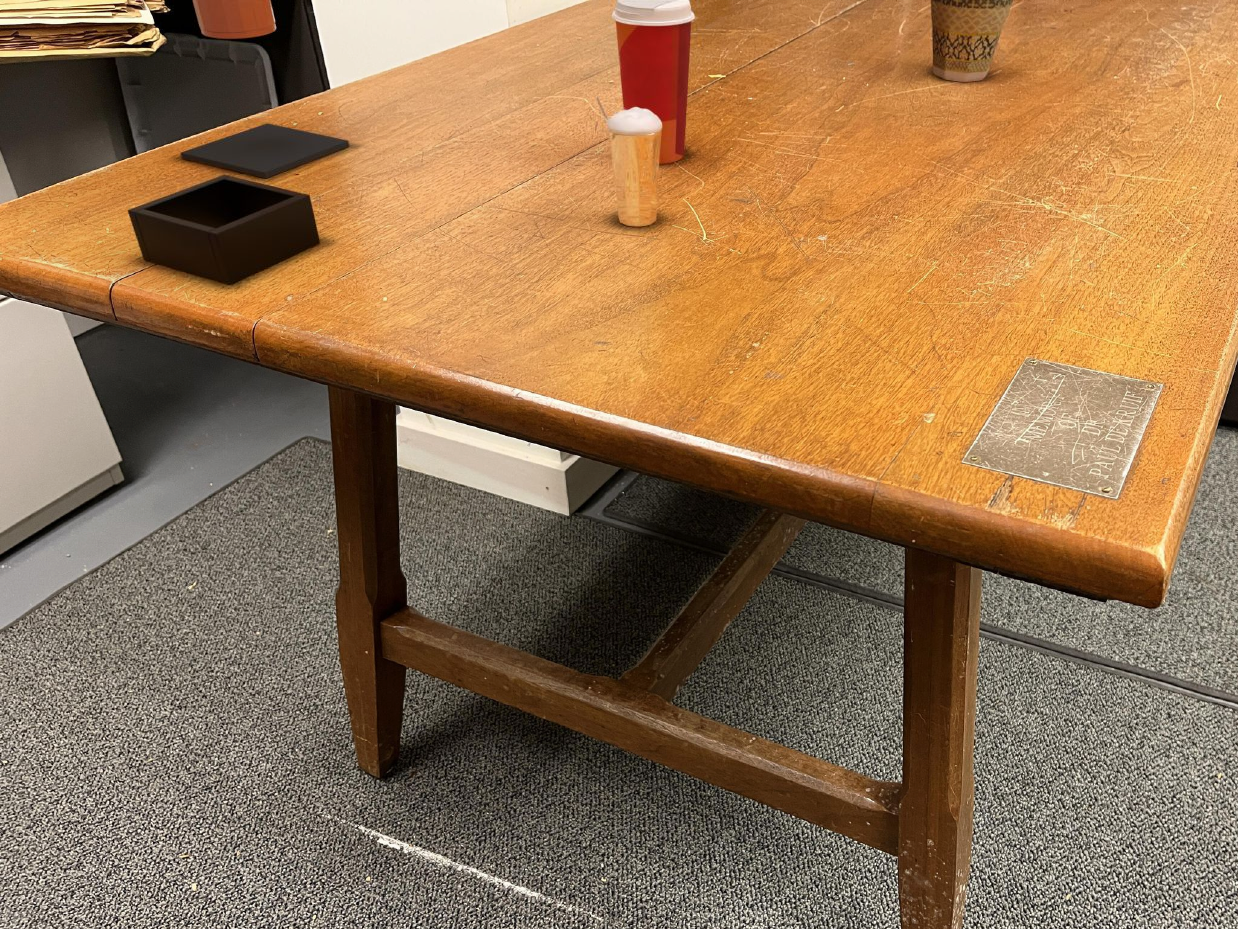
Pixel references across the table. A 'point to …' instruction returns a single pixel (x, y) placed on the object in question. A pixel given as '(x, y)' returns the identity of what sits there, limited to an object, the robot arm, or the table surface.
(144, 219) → the open black box
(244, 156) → the coaster
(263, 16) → the cup
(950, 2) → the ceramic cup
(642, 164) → the milkshake
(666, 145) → the paper cup
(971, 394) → the table surface
